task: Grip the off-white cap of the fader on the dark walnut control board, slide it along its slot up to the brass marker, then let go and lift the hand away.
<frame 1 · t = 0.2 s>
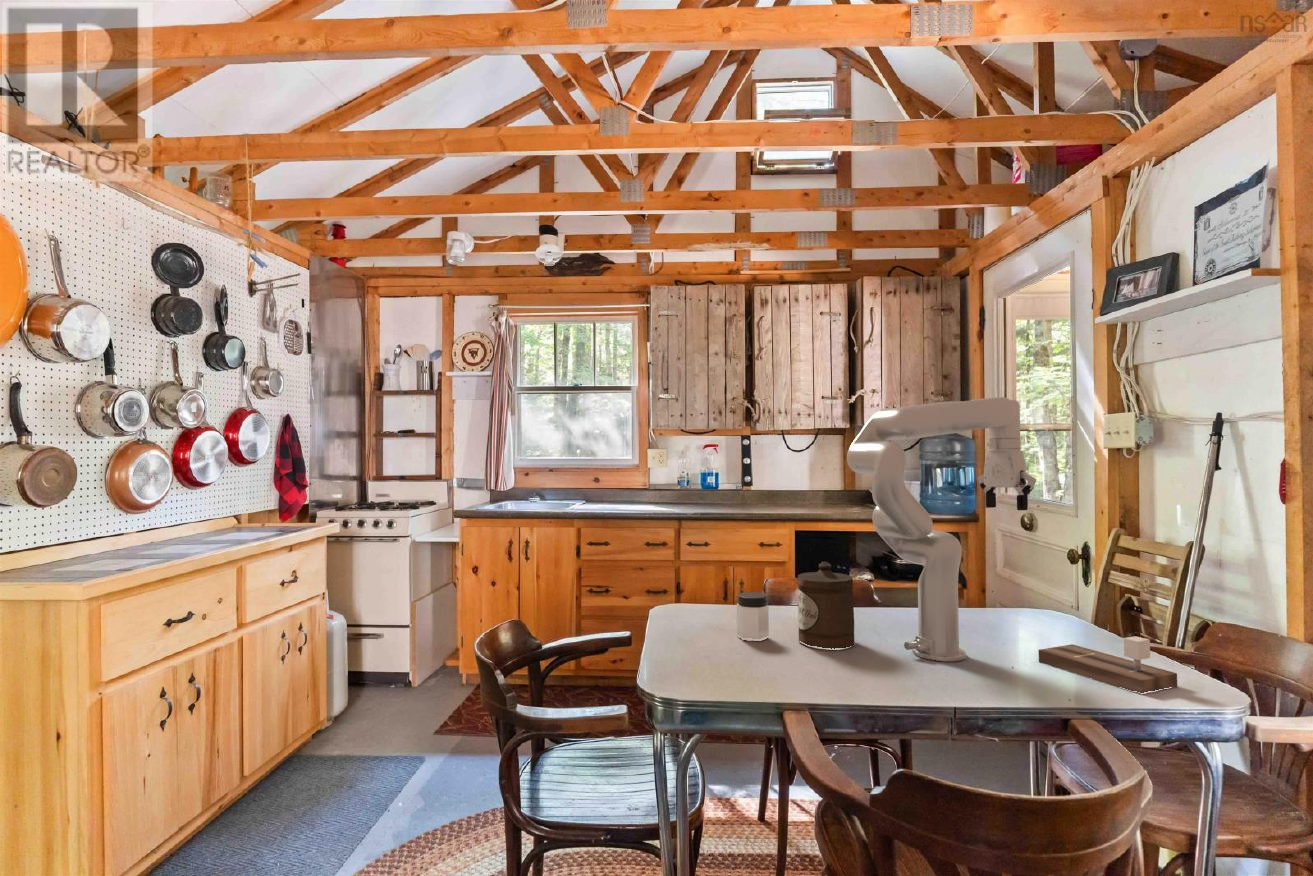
hand: (1006, 508, 177), 37 cm above the table, tool pointing down, fingers open, 9 cm apart
fader: (1137, 653, 146), point 7 cm above the table, slide at 0.0 cm
control board: (1104, 673, 153), on the table
wooden container: (826, 643, 179), on the table
jar: (752, 638, 184), on the table
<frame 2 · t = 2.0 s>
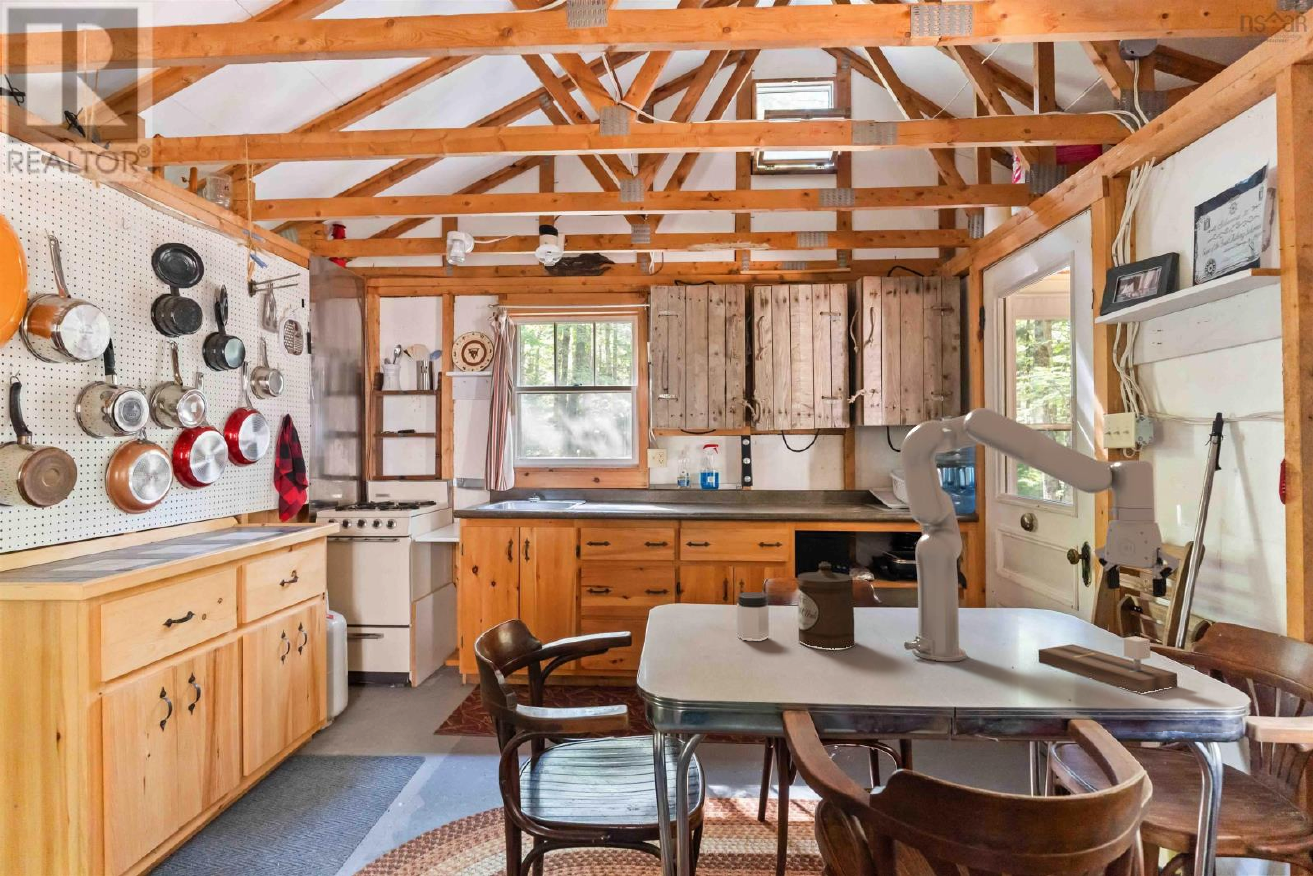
hand: (1135, 592, 146), 20 cm above the table, tool pointing down, fingers open, 9 cm apart
nothing on the table moved.
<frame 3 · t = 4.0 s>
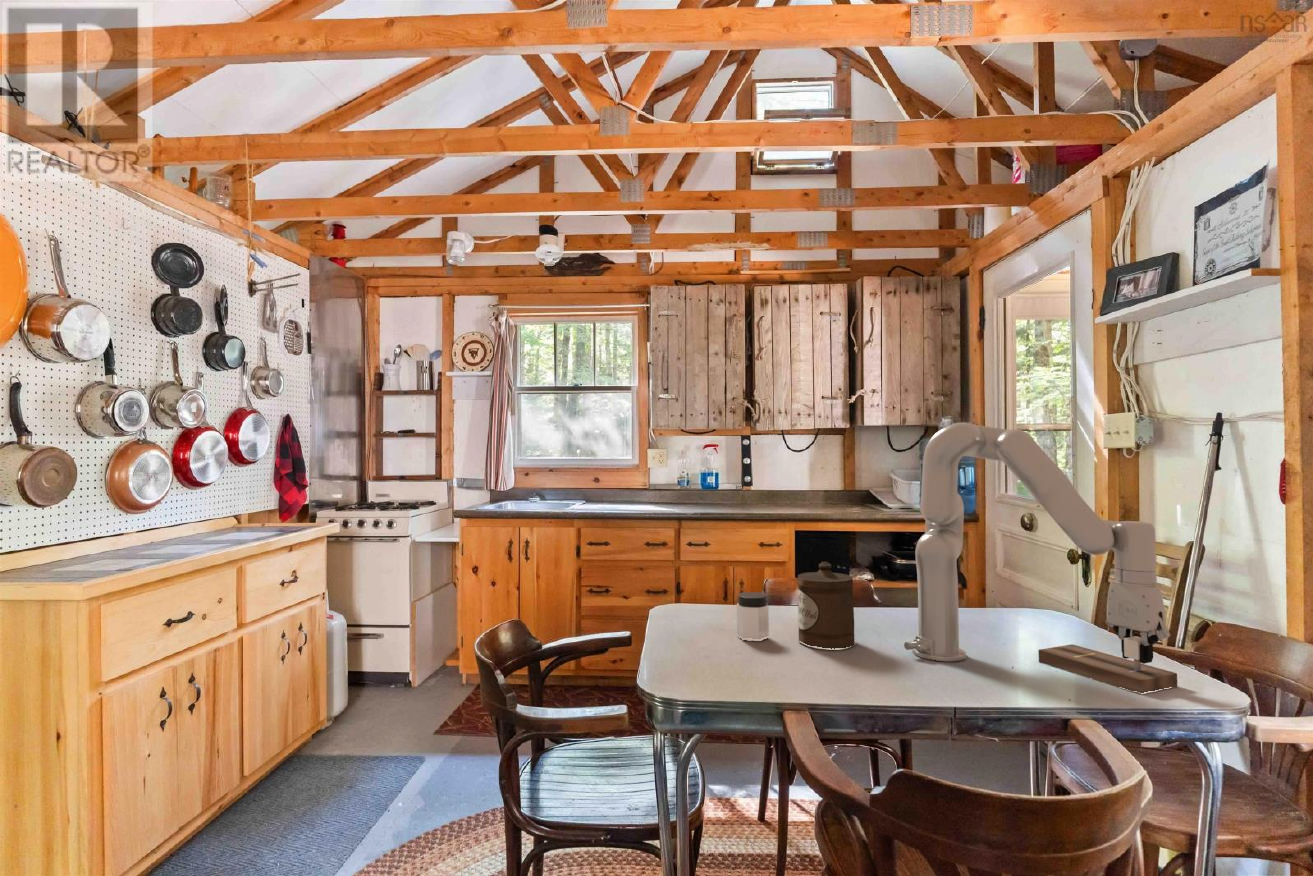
hand: (1137, 659, 146), 6 cm above the table, tool pointing down, fingers closed on fader, 3 cm apart
fader: (1137, 653, 146), point 7 cm above the table, slide at 0.0 cm, touching gripper
everything else where it was.
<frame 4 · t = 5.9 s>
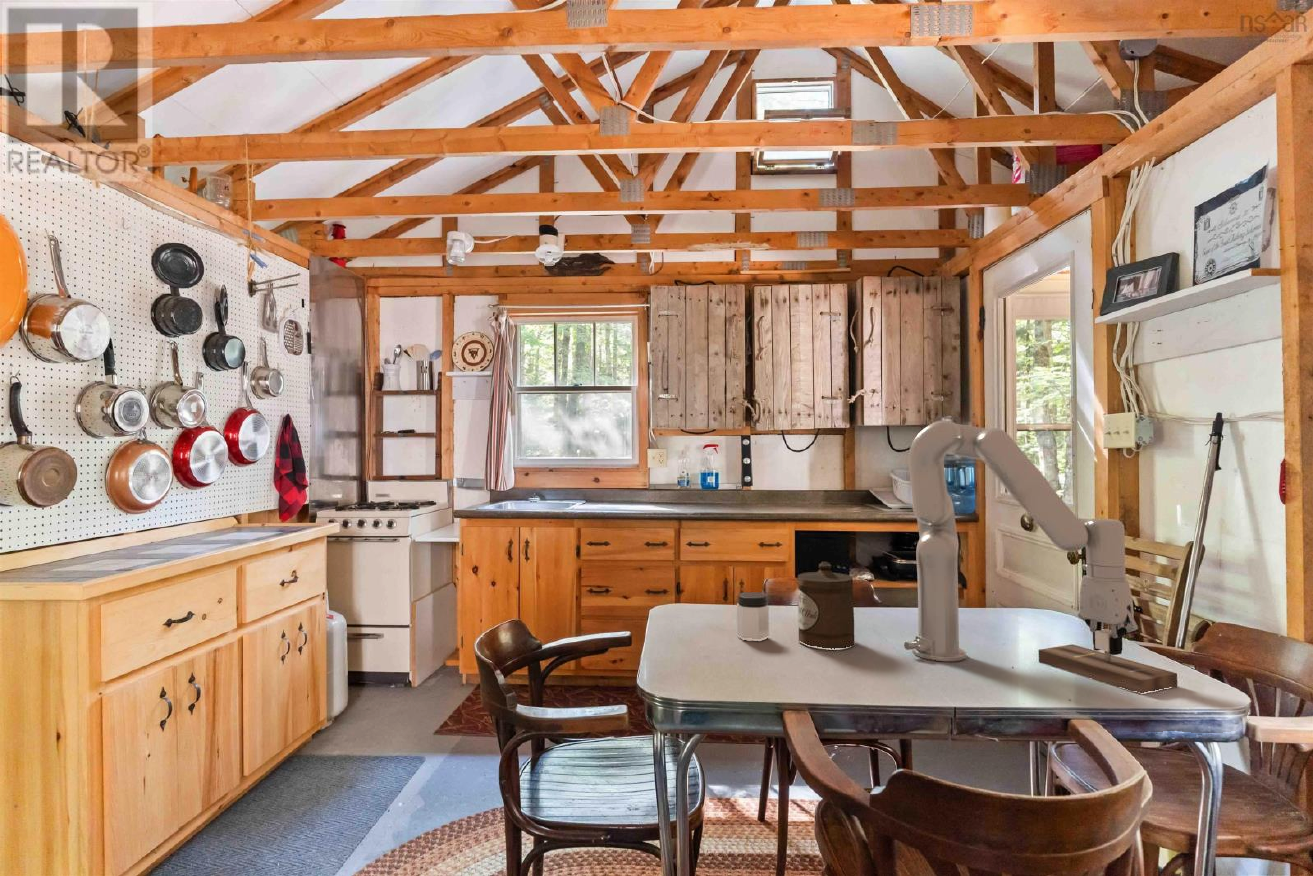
hand: (1107, 651, 152), 6 cm above the table, tool pointing down, fingers closed on fader, 3 cm apart
fader: (1107, 646, 152), point 7 cm above the table, slide at 6.5 cm, touching gripper
everything else where it was.
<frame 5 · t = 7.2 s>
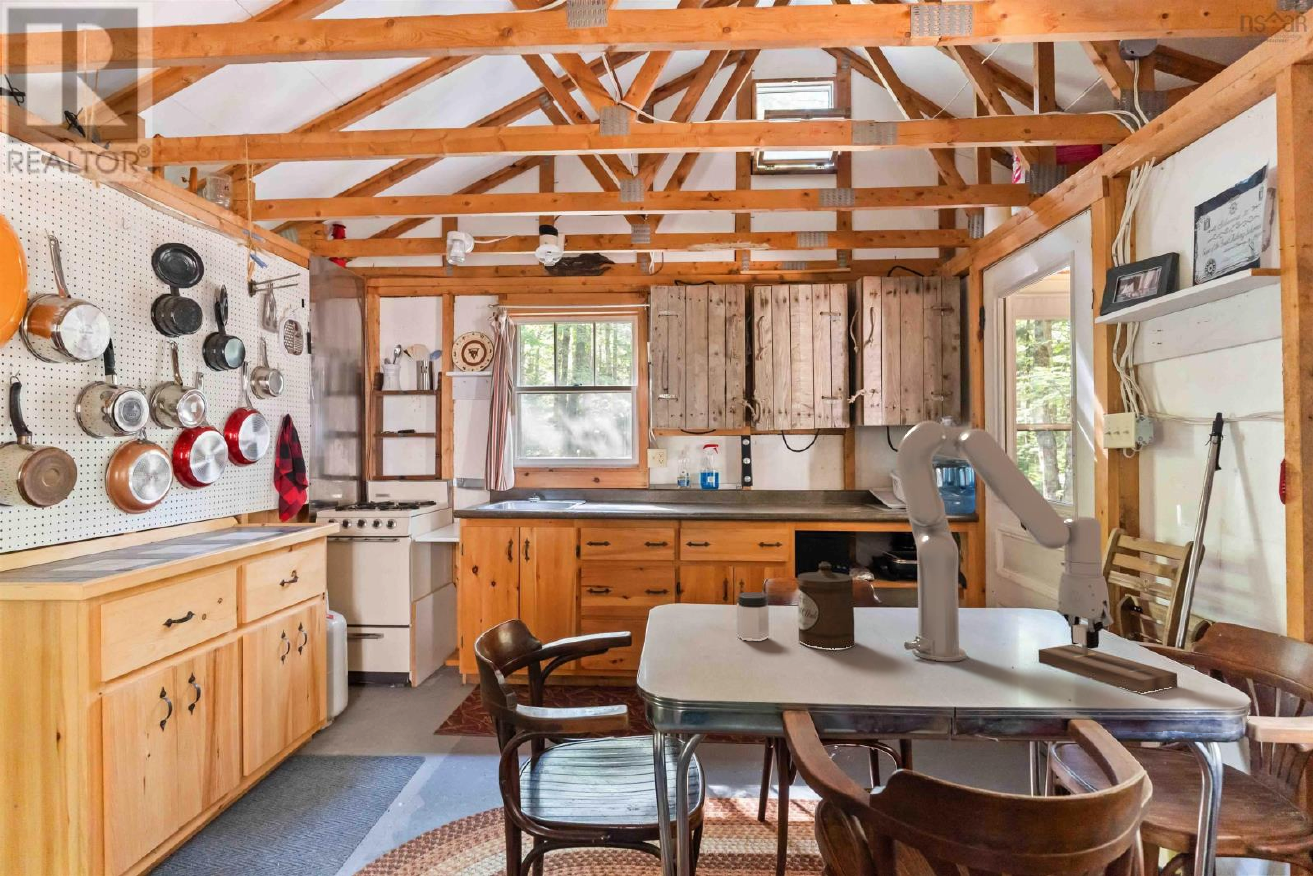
hand: (1084, 645, 157), 6 cm above the table, tool pointing down, fingers closed on fader, 3 cm apart
fader: (1084, 640, 157), point 7 cm above the table, slide at 11.9 cm, touching gripper
everything else where it was.
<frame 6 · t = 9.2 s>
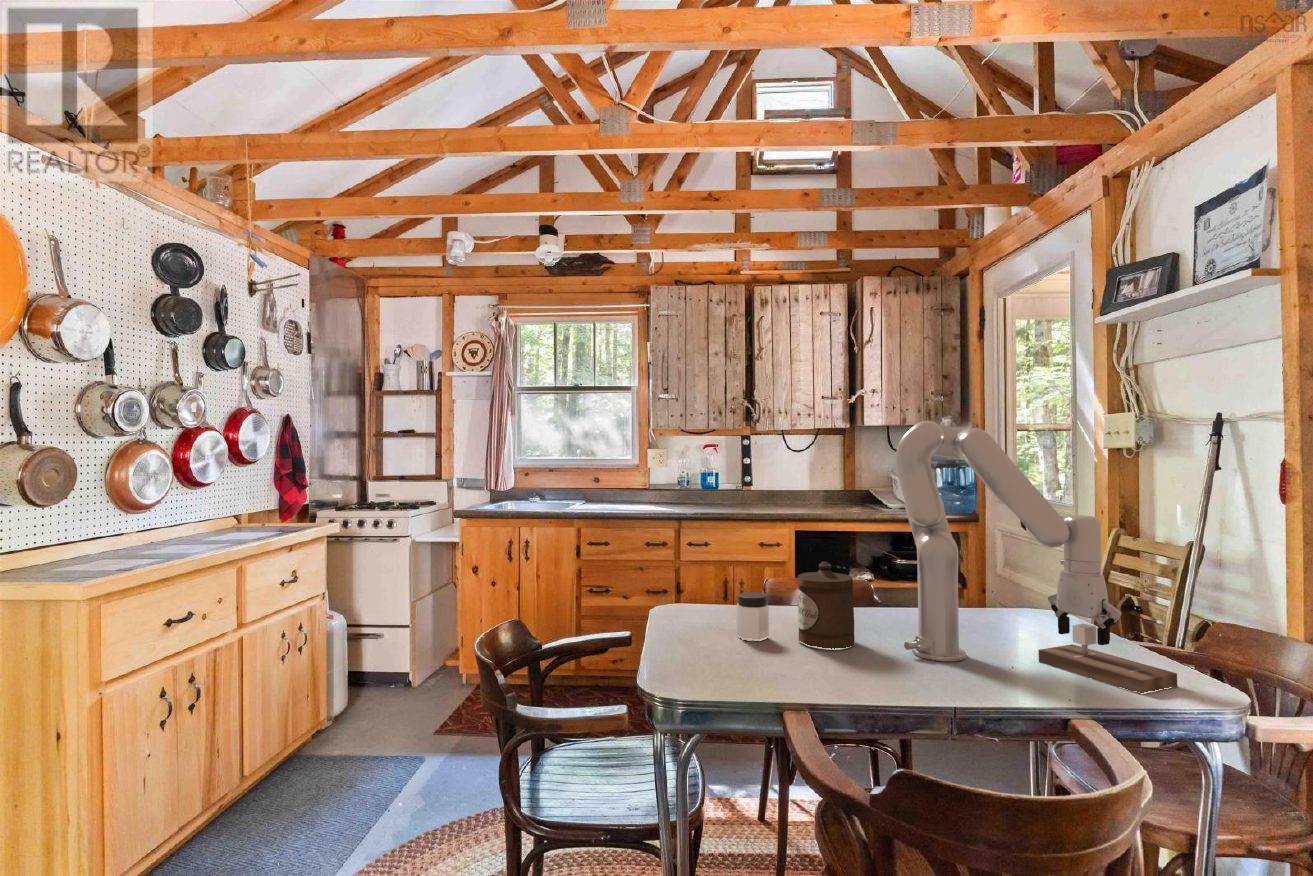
hand: (1083, 638, 157), 7 cm above the table, tool pointing down, fingers open, 9 cm apart
fader: (1084, 639, 157), point 7 cm above the table, slide at 12.0 cm
everything else where it was.
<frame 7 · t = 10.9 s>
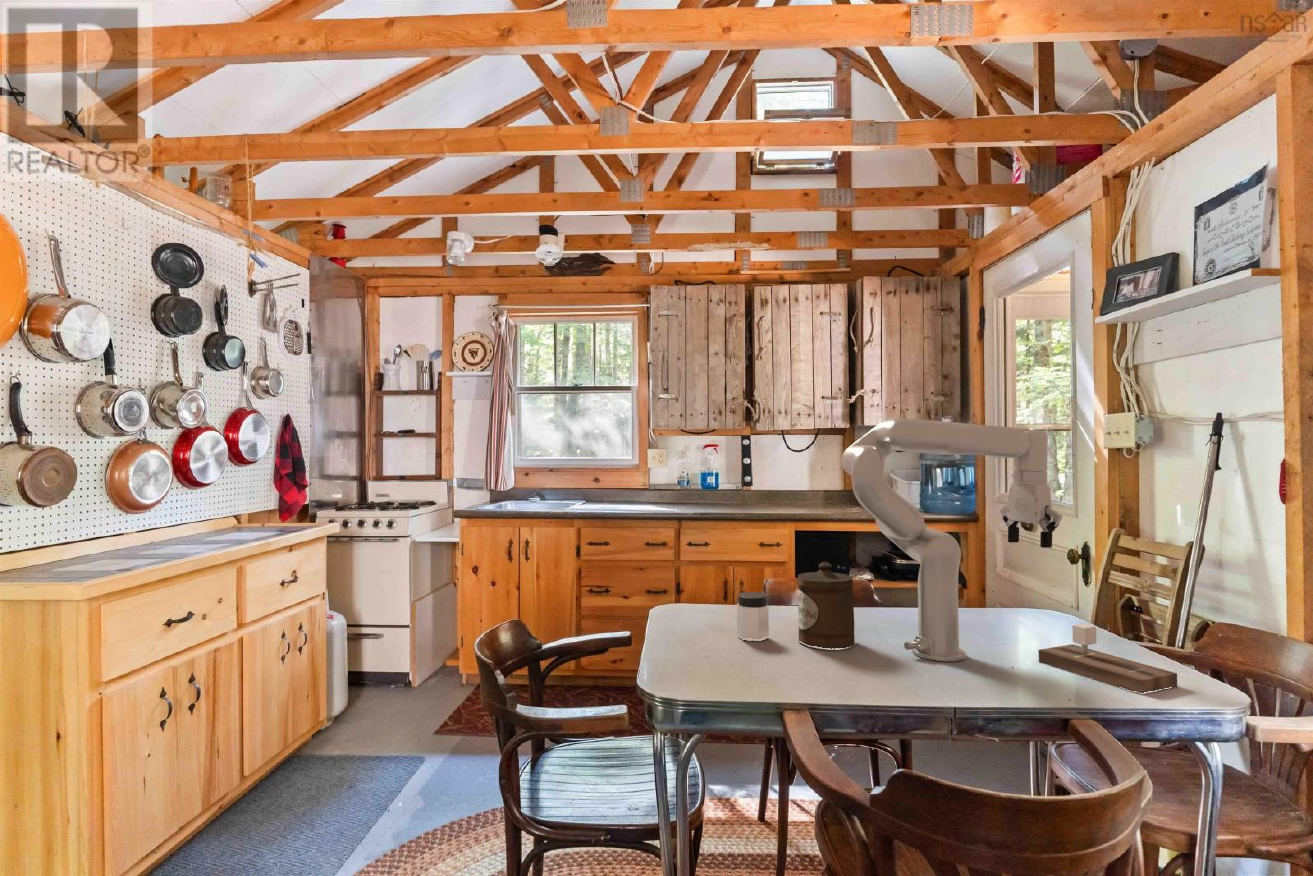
hand: (1029, 544, 169), 28 cm above the table, tool pointing down, fingers open, 9 cm apart
nothing on the table moved.
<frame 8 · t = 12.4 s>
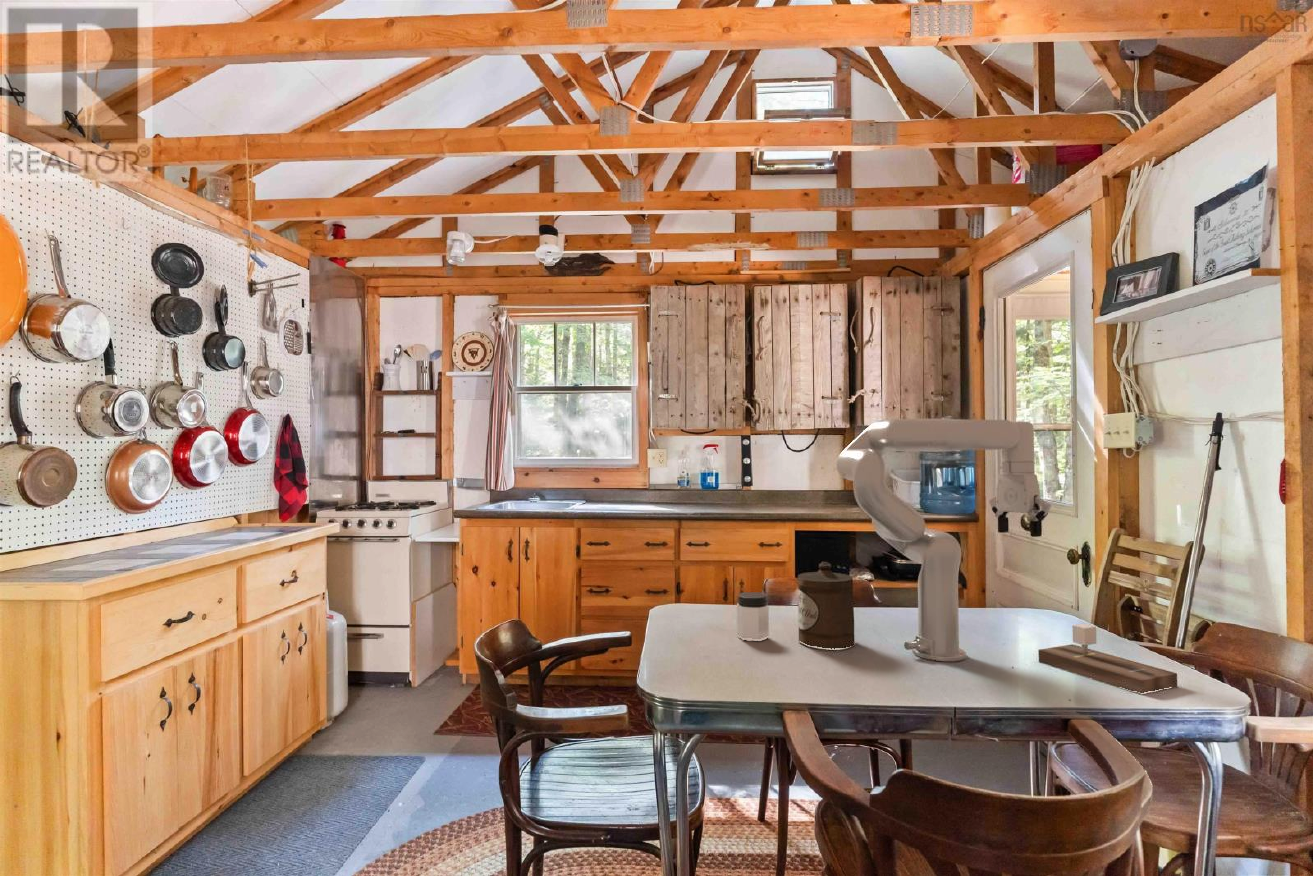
hand: (1019, 534, 171), 30 cm above the table, tool pointing down, fingers open, 9 cm apart
nothing on the table moved.
at the end: fader slide at 12.0 cm; wooden container moved 0.3 cm from its start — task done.
